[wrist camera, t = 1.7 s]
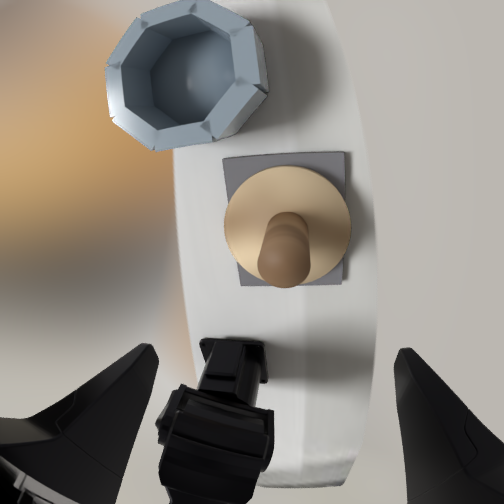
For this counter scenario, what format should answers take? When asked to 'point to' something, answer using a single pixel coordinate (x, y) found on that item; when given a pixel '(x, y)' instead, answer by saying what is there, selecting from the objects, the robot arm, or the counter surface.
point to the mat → (317, 161)
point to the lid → (287, 225)
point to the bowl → (186, 75)
